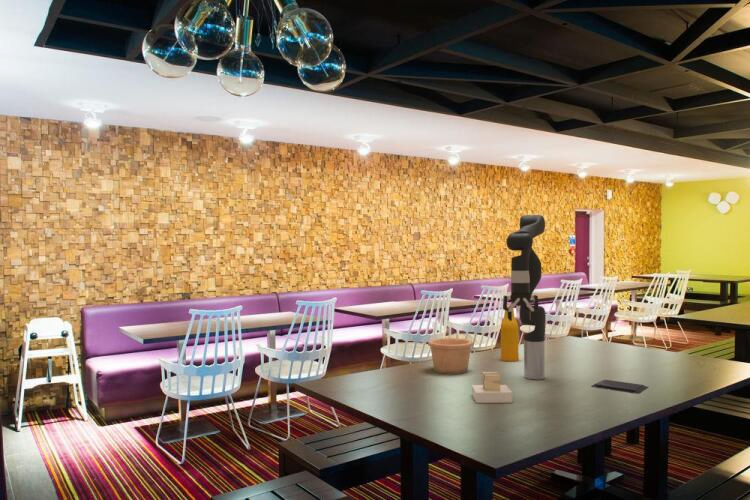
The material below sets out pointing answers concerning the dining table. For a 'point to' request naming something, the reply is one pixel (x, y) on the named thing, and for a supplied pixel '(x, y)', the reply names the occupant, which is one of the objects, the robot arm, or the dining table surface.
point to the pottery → (450, 355)
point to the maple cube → (491, 381)
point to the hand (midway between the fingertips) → (520, 320)
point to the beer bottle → (509, 338)
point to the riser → (491, 395)
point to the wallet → (620, 386)
